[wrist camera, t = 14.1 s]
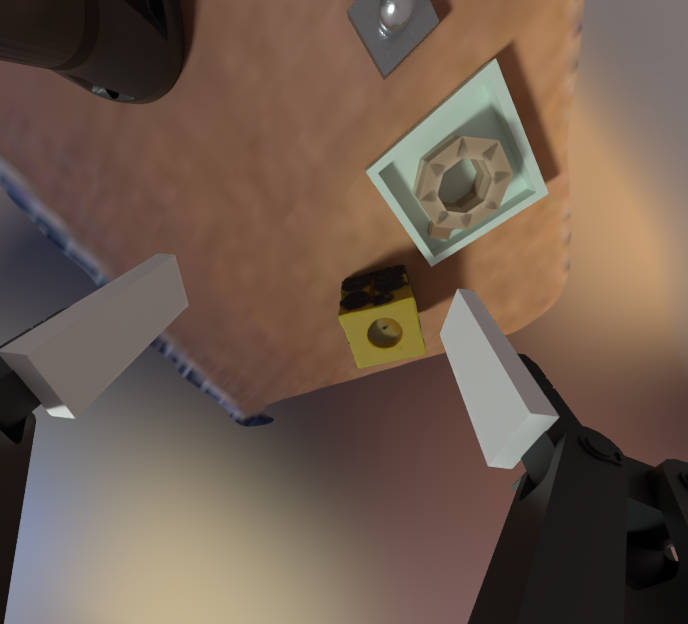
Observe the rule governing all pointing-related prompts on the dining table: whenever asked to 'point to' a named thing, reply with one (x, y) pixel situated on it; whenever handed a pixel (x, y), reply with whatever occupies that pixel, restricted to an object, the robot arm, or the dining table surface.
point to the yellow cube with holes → (381, 317)
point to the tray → (461, 120)
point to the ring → (484, 190)
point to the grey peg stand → (392, 28)
